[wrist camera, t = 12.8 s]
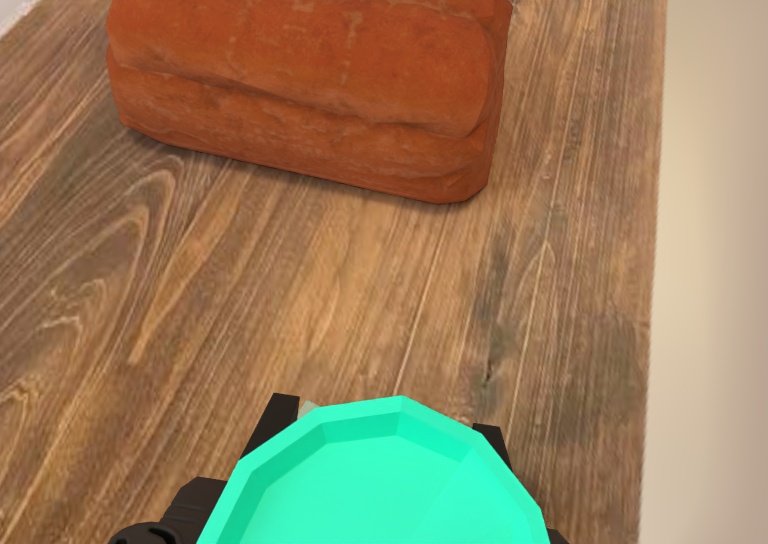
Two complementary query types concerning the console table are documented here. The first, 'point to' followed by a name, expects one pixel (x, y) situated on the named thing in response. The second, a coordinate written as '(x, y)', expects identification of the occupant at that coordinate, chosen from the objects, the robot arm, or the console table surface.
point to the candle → (375, 483)
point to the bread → (320, 86)
